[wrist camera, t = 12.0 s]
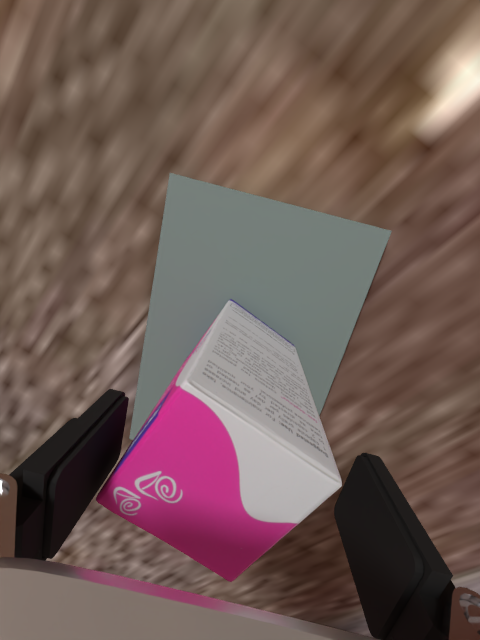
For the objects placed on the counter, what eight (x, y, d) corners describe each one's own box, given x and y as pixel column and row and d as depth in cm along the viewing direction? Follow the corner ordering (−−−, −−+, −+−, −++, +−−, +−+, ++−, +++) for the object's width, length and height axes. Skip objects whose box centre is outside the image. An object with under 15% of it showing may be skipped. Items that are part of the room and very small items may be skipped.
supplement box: (228, 295, 18) (186, 376, 7) (296, 344, 19) (358, 490, 8) (182, 357, 19) (86, 509, 8) (247, 401, 20) (239, 593, 9)
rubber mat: (293, 470, 23) (294, 478, 22) (133, 432, 22) (129, 438, 21) (385, 231, 17) (391, 230, 16) (173, 176, 17) (170, 172, 16)
